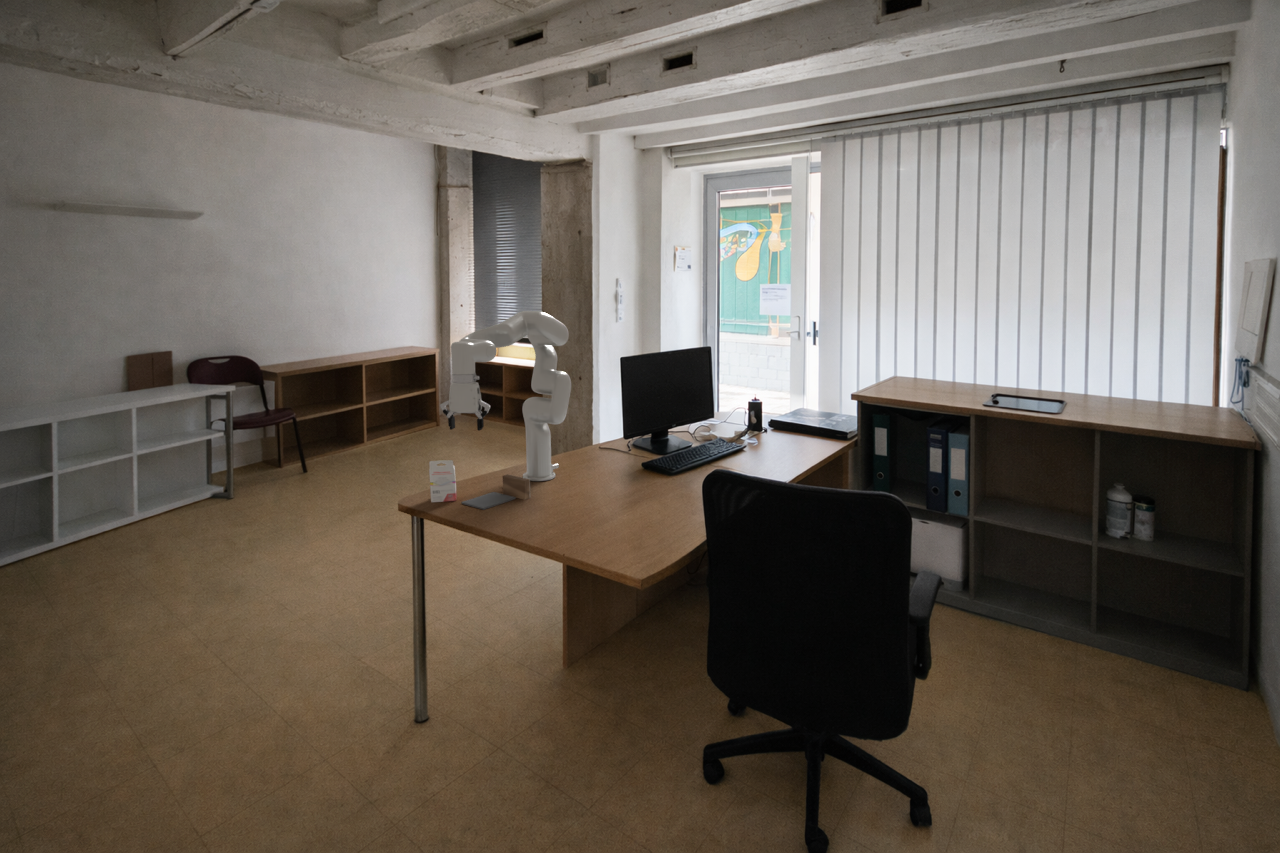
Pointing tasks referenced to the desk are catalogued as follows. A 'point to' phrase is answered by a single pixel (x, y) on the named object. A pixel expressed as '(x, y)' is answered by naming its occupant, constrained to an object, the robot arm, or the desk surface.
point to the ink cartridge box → (442, 481)
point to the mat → (488, 500)
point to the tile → (516, 486)
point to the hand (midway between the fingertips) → (466, 429)
